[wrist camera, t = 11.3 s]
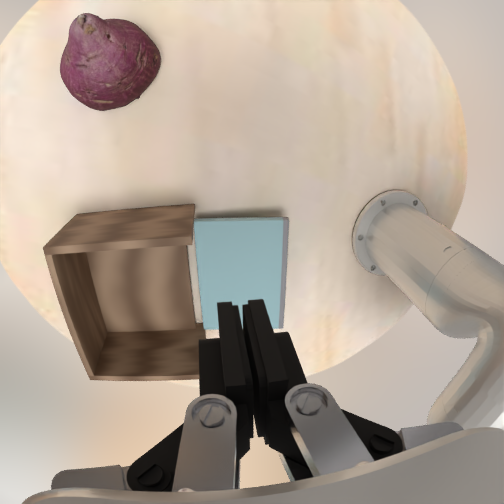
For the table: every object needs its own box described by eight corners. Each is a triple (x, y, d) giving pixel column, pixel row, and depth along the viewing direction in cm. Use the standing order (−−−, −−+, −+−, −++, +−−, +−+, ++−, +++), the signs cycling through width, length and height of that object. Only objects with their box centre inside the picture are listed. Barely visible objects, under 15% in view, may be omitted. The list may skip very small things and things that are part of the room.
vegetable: (105, 29, 29) (64, -40, 14) (177, 49, 30) (162, -30, 16) (63, 102, 29) (-6, 58, 15) (134, 127, 31) (85, 80, 17)
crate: (194, 203, 37) (191, 236, 28) (205, 327, 44) (207, 378, 36) (76, 214, 35) (42, 247, 26) (105, 331, 43) (90, 379, 34)
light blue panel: (194, 218, 36) (287, 217, 37) (204, 324, 43) (282, 323, 43) (193, 221, 35) (288, 220, 36) (203, 329, 42) (283, 328, 42)
